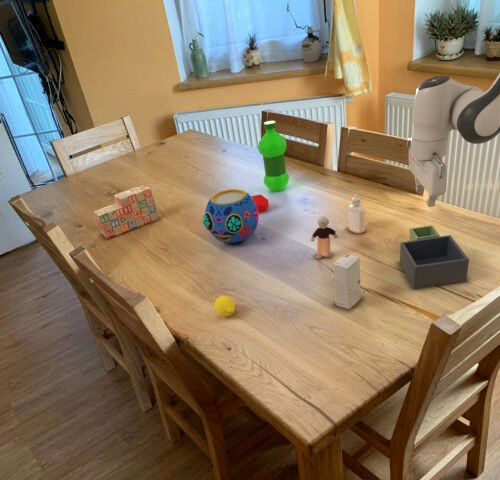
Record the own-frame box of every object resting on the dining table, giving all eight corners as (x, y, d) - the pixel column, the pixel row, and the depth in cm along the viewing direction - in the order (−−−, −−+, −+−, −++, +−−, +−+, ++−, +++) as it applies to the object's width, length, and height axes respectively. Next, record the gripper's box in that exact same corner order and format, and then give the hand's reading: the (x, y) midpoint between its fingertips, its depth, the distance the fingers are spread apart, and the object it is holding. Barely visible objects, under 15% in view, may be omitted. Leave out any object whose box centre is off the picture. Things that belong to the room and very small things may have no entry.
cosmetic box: (349, 310, 126) (348, 269, 118) (334, 305, 128) (332, 264, 121) (361, 297, 129) (361, 257, 122) (347, 293, 132) (345, 253, 124)
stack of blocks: (107, 239, 181) (95, 208, 173) (101, 234, 185) (90, 203, 178) (159, 218, 189) (150, 187, 181) (152, 214, 193) (143, 183, 185)
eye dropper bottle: (352, 235, 156) (351, 199, 149) (347, 227, 160) (346, 192, 153) (365, 232, 156) (365, 196, 149) (361, 225, 160) (360, 189, 153)
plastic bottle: (292, 182, 197) (285, 116, 182) (287, 193, 189) (280, 125, 174) (267, 183, 200) (259, 119, 184) (262, 194, 192) (253, 128, 176)
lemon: (212, 311, 134) (208, 295, 131) (230, 304, 136) (227, 288, 132) (222, 324, 129) (218, 307, 126) (241, 316, 130) (238, 300, 127)
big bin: (447, 256, 138) (450, 234, 134) (466, 281, 128) (469, 259, 124) (399, 263, 139) (400, 242, 135) (413, 289, 129) (415, 267, 125)
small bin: (431, 240, 146) (432, 225, 143) (438, 250, 141) (439, 235, 138) (409, 243, 147) (409, 228, 144) (415, 254, 142) (416, 238, 139)
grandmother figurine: (314, 261, 147) (311, 222, 139) (311, 255, 150) (308, 216, 142) (339, 255, 147) (338, 216, 140) (336, 250, 150) (334, 211, 143)
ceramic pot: (200, 249, 164) (190, 207, 155) (225, 224, 176) (217, 184, 167) (248, 254, 157) (240, 210, 147) (270, 228, 168) (264, 185, 159)
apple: (272, 192, 179) (250, 186, 178) (270, 203, 174) (247, 198, 174) (268, 207, 184) (247, 202, 184) (265, 218, 180) (244, 213, 179)
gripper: (456, 159, 118) (450, 213, 127) (428, 134, 134) (425, 183, 143) (429, 163, 119) (425, 216, 127) (405, 137, 135) (403, 186, 143)
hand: (425, 198), depth 135 cm, fingers open, 8 cm apart
